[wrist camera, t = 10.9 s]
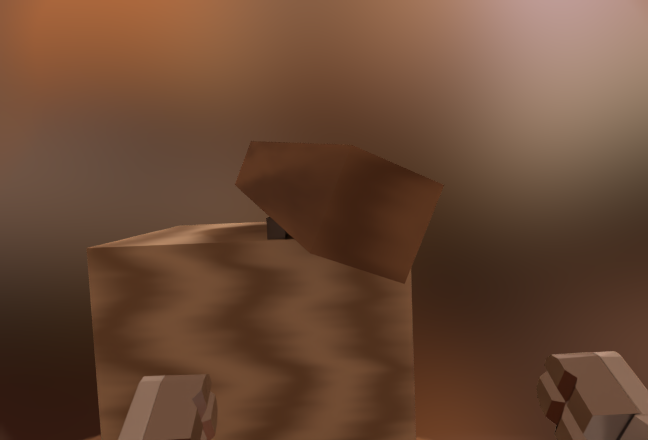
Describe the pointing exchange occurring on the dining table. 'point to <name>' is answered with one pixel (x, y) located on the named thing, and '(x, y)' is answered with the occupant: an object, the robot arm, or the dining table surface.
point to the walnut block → (342, 203)
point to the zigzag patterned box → (254, 333)
